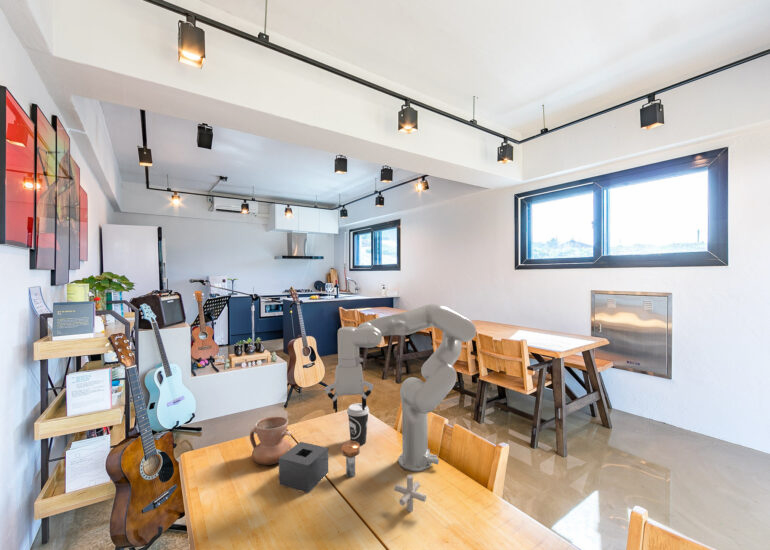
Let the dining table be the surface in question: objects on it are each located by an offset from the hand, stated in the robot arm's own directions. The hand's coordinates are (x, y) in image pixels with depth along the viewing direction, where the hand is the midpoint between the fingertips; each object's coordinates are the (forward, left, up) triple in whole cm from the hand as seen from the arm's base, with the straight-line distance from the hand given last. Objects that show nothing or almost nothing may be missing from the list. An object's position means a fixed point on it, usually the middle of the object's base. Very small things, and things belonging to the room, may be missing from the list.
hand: (349, 409), depth 118 cm
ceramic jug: (+34, +2, -23) cm, 41 cm away
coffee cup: (+8, -22, -23) cm, 33 cm away
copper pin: (0, 0, -23) cm, 23 cm away
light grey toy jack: (-25, +9, -23) cm, 35 cm away
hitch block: (+14, +8, -23) cm, 28 cm away
